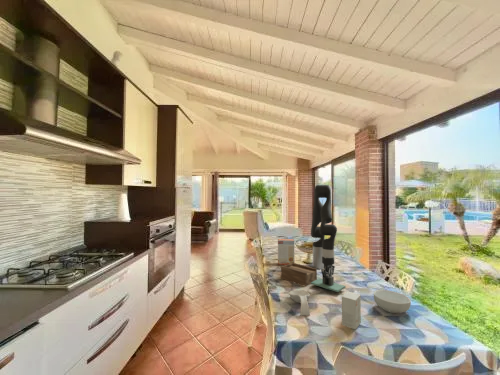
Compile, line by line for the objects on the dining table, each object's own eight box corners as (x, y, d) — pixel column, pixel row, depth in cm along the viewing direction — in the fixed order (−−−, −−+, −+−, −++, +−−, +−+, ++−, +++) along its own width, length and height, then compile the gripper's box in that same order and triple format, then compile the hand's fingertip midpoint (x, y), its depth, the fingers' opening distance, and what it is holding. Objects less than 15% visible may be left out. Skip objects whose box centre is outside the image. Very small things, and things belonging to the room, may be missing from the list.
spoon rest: (287, 295, 141) (287, 283, 141) (307, 296, 141) (307, 283, 141) (293, 316, 117) (294, 301, 117) (317, 316, 117) (317, 301, 117)
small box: (347, 317, 115) (347, 290, 116) (361, 322, 111) (361, 294, 112) (341, 324, 109) (341, 296, 110) (355, 330, 105) (355, 300, 106)
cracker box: (293, 263, 206) (294, 239, 207) (294, 265, 200) (294, 240, 201) (277, 262, 207) (277, 238, 208) (277, 264, 201) (277, 239, 202)
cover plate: (319, 279, 161) (319, 271, 161) (345, 287, 148) (345, 277, 148) (311, 283, 153) (311, 274, 154) (338, 292, 141) (337, 281, 141)
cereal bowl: (411, 321, 113) (411, 306, 113) (372, 312, 121) (372, 298, 122) (410, 307, 127) (409, 293, 127) (375, 299, 136) (374, 287, 136)
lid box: (292, 273, 178) (292, 262, 179) (316, 281, 164) (316, 268, 164) (281, 278, 169) (281, 266, 169) (305, 286, 154) (305, 273, 154)
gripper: (327, 253, 159) (327, 279, 158) (317, 256, 149) (317, 284, 148) (338, 255, 153) (338, 282, 153) (328, 259, 144) (328, 288, 143)
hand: (328, 283), depth 151 cm, fingers closed on cover plate, 3 cm apart
